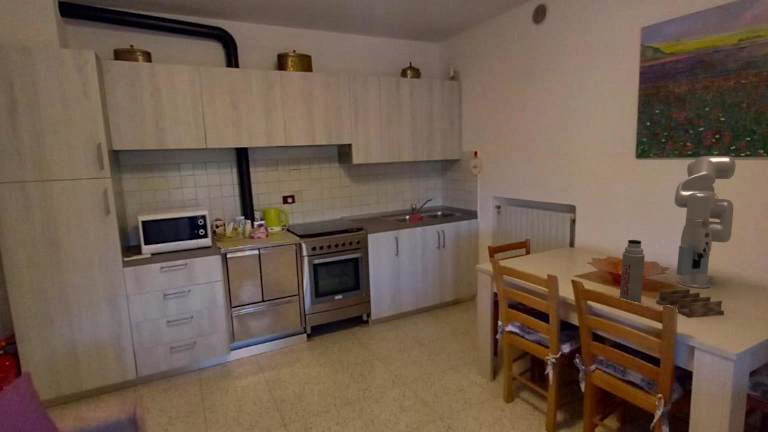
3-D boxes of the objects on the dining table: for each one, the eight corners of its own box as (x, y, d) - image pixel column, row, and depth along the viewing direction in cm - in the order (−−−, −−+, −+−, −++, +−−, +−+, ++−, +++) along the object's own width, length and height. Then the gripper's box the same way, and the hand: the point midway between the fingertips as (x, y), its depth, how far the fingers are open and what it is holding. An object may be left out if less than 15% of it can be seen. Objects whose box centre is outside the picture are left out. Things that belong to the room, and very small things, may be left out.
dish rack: (688, 300, 179) (689, 288, 178) (723, 314, 163) (725, 301, 162) (656, 303, 176) (657, 291, 175) (688, 317, 161) (690, 304, 160)
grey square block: (701, 272, 169) (704, 244, 168) (707, 273, 167) (710, 245, 165) (676, 274, 168) (679, 245, 166) (681, 275, 165) (684, 246, 163)
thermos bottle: (627, 307, 172) (632, 243, 168) (615, 300, 180) (619, 239, 176) (645, 306, 173) (650, 242, 169) (632, 299, 181) (637, 238, 177)
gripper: (724, 226, 157) (719, 272, 160) (687, 219, 172) (683, 261, 175) (707, 227, 156) (702, 273, 158) (672, 220, 171) (668, 263, 174)
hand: (692, 267), depth 167 cm, fingers closed on grey square block, 2 cm apart
